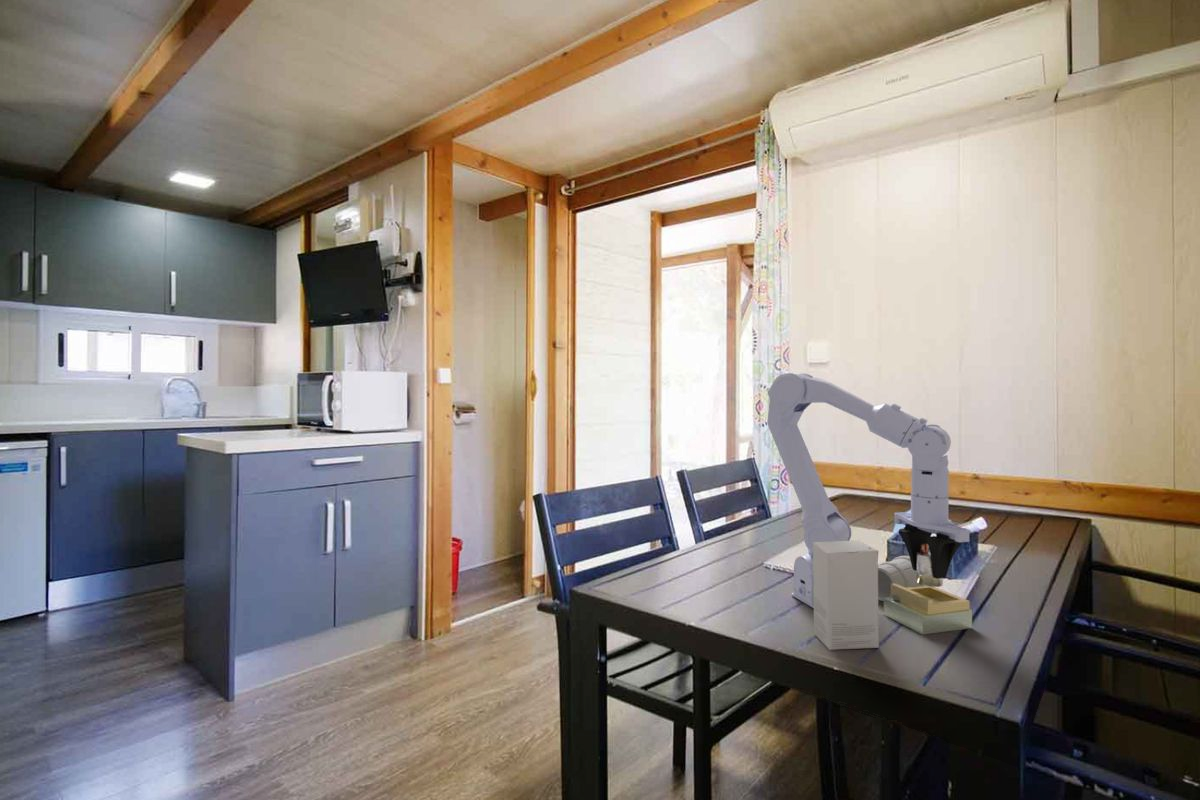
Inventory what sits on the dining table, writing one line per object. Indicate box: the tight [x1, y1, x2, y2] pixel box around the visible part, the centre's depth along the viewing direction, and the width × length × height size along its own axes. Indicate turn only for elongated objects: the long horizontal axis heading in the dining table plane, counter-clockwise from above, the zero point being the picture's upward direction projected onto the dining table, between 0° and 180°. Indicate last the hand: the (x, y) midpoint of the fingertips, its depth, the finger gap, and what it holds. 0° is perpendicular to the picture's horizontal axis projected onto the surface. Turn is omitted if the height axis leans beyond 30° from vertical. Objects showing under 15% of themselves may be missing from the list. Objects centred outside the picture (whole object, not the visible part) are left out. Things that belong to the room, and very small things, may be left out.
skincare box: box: [813, 539, 880, 651], centre depth 95 cm, size 8×7×16 cm
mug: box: [878, 555, 925, 602], centre depth 116 cm, size 8×12×12 cm
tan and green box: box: [883, 583, 973, 635], centre depth 104 cm, size 10×9×6 cm
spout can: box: [917, 543, 944, 588], centre depth 104 cm, size 4×4×6 cm
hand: (929, 573), depth 104 cm, fingers closed on spout can, 4 cm apart
